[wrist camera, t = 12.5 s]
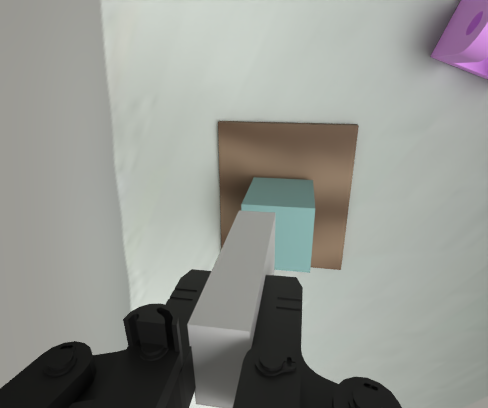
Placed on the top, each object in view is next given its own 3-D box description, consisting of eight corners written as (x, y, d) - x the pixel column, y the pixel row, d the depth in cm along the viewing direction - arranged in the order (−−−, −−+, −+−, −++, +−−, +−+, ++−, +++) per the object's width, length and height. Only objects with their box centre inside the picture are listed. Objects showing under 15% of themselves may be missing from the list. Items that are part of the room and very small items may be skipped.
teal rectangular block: (253, 177, 30) (241, 204, 24) (312, 180, 30) (315, 208, 24) (253, 229, 32) (241, 266, 26) (308, 233, 32) (310, 272, 26)
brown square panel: (220, 121, 31) (194, 136, 24) (357, 124, 29) (374, 142, 22) (223, 255, 36) (203, 301, 29) (340, 265, 34) (349, 317, 27)
